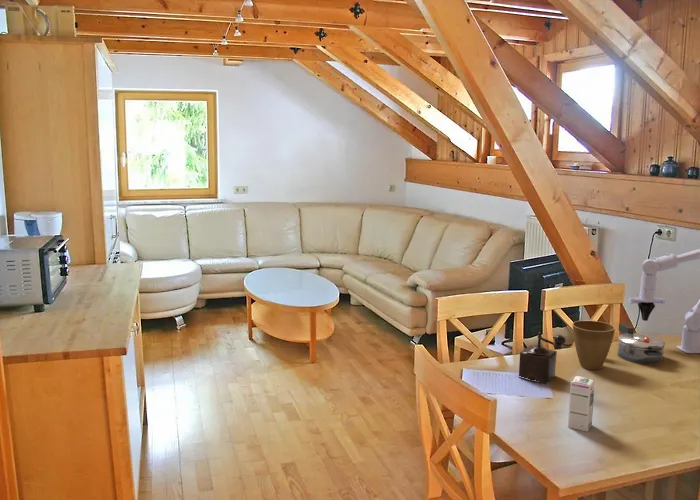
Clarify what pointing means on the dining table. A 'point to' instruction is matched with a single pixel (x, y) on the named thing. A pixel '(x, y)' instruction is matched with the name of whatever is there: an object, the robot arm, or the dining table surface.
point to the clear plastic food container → (639, 354)
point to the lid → (639, 339)
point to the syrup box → (581, 403)
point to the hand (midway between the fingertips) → (644, 320)
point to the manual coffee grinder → (540, 360)
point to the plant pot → (592, 342)
